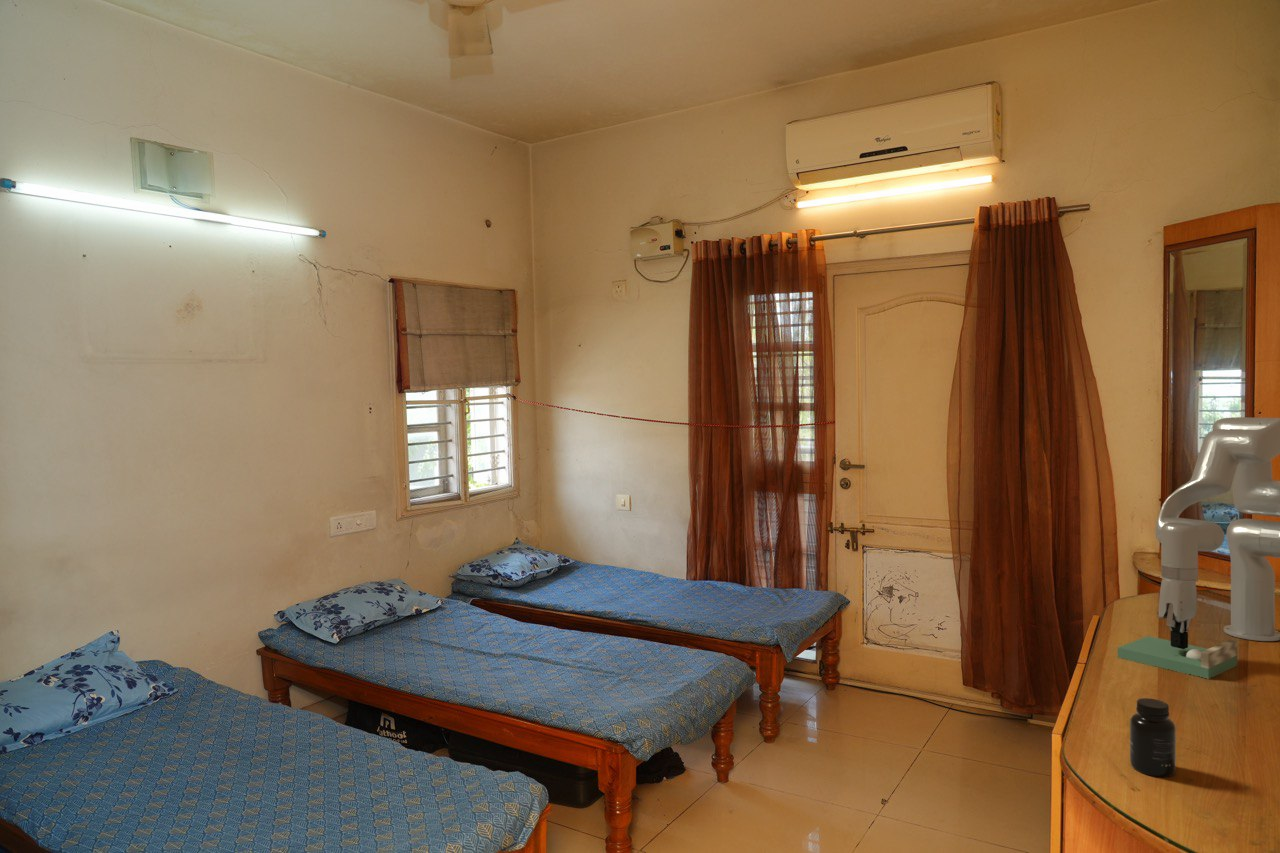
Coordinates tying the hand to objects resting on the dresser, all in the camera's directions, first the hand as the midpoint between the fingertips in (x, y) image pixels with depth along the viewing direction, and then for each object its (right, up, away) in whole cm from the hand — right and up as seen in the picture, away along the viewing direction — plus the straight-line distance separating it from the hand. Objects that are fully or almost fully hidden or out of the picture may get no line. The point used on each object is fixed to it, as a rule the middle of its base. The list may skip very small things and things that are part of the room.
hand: (1179, 647), depth 198 cm
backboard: (+5, -1, -7) cm, 9 cm away
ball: (+2, -2, -3) cm, 4 cm away
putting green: (0, -4, +1) cm, 4 cm away
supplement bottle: (-42, -7, -55) cm, 70 cm away
